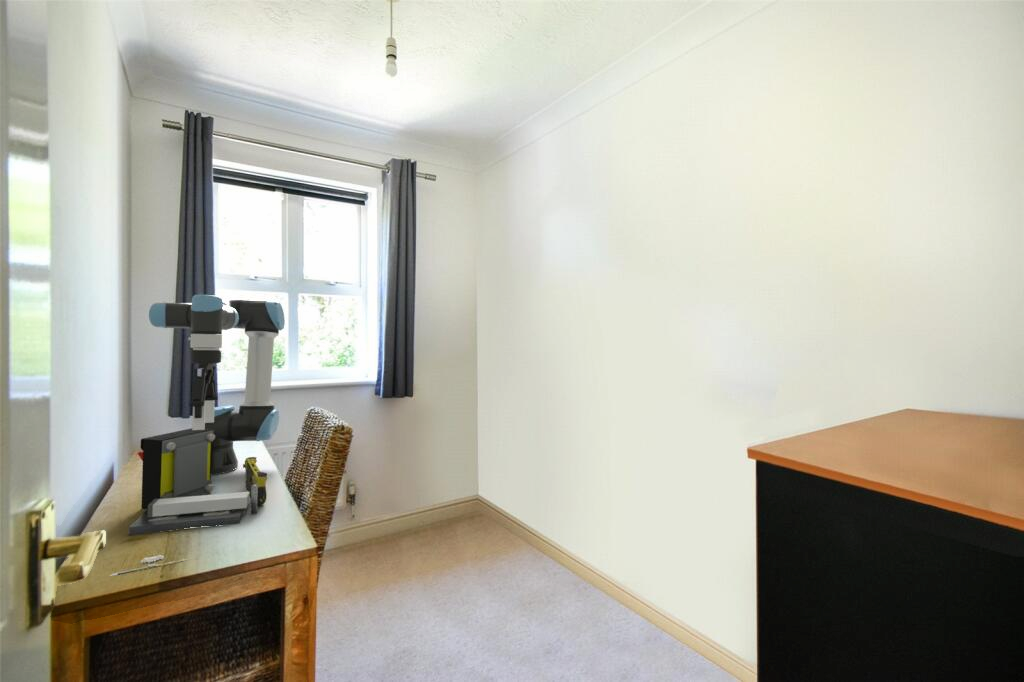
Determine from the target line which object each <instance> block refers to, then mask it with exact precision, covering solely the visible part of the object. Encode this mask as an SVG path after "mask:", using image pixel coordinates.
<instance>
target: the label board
mask: <svg viewBox="0 0 1024 682" xmlns="http://www.w3.org/2000/svg"><path fill="white" fill-rule="evenodd" d="M257 495H258V485H257V484H255V485H251V499H250V515H253V516H254V515H257V514H258V507H257ZM246 510H247V508H241V509H230V510H219V511H208V512H198V513H187V514H176V515H166V516H155V517H150V518H148V509H147V510H146V509H145V511H144V512H143V513H142V514H141V515H140V516H138V518H136V520H135V521H133V522H132V523H131V524H130V526H128V536H134V535H135V534H136V535H144V533H146V534H154V532H155V533H161V532H160V531H165V532H170V531H169V530H175V531H177V530H176V529H184V528H190V527H201V526H213V527H220V526H219V525H223V526H233V525H239V524H241V521H242V519H243V517H244V515H245V512H246ZM216 525H217V526H216ZM184 530H185V529H184ZM136 535H135V536H136Z"/></svg>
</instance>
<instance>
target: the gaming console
mask: <svg viewBox="0 0 1024 682" xmlns="http://www.w3.org/2000/svg"><path fill="white" fill-rule="evenodd" d="M257 462H258V461H257V456H249V457H246V458H245V460H244V463H243V464H242V468H243V469H244V471H245V472H244V473H245V474H244V475H245V477H244V478H245V479H244V480H245V481H244V483H245V489H246V492H250V496H249V500H251V485H255V484H257V485H258V495H257V508H258V507H259V508H260V507H261V506H263V505H264V504H265V503H266V502H267V487H266V484H267V481H268V473H267V472H264V471H261V470H260V469H259V467H258V465H257V464H256V463H257Z"/></svg>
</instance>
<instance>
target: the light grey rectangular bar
mask: <svg viewBox="0 0 1024 682" xmlns="http://www.w3.org/2000/svg"><path fill="white" fill-rule="evenodd" d="M249 503H250V492H247V491H242V492H241V491H238V492H229V493H217V494H216V493H214V494H204V495H201V496H190V497H177V498H165V499H154V500H153V501H152V502H151V503H150V504H149V505H148V518H150V517H155V516H166V515H176V514H187V513H198V512H208V511H219V510H230V509H241V508H246V509H248V506H249Z"/></svg>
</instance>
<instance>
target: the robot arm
mask: <svg viewBox="0 0 1024 682" xmlns="http://www.w3.org/2000/svg"><path fill="white" fill-rule="evenodd" d="M148 319H149V322H150V324H151V325H152V326H153V327H154V328H164V329H190V336H189V337H188V338H187V340H188V341H189V342H190V345H189V346H190V348H191V350H190V351H189V363H191V364H197V368H194V370H193V374H194V375H193V383H192V384H193V385H192V391H191V401H190V402H189V404H188V405H189V407H192V423H191V424H192V427H191V428H192V430H204V429H212V430H213V434H214V435H215V439H214V440H213V441H212V459H211V474H212V475H218V474H219V473H220V474H224V473H223V472H225V473H229V472H232V471H231V470H233V469H235V468H237V467H238V468H239V461H238V458H237V455H236V452H235V449H234V442H262V441H263V442H264V441H269V440H271V439H272V438H273V437H274V436H275V434H276V431H277V429H278V426H279V420H280V413H279V410H278V409H276V408H275V404H274V403H273V402H272V401H271V392H272V390H271V389H272V377H273V374H272V372H273V359H274V342H275V339H276V337H278V336H279V332H280V331H282V330H283V329H284V328H285V325H286V324H285V323H286V322H285V314H284V309H283V306H282V304H281V302H279V301H278V300H274V299H268V298H264V299H263V298H242V297H241V298H238V297H237V298H226V299H223V298H222V297H221V296H219V295H210V294H195V295H193V296H192V297H191V302H167V301H165V302H155V303H152V305H150V307H149V311H148ZM231 329H240V330H241V329H243V330H244V334H245V335H246V336H247V337H248V348H247V361H246V376H245V389H244V400H243V402H242V403H240V404H239V406H238V407H239V409H236V408H235V406H234V405H222V406H215V401H218V399H219V396H217V395H218V394H217V385H216V384H217V382H216V368H217V367H216V366H214V365H213V364H221V362H222V351H221V349H222V347H223V345H222V344H223V342H222V341H223V334H222V333H223V331H227V330H231ZM238 468H237V469H238ZM235 470H236V469H235ZM228 471H229V472H228ZM233 471H234V470H233Z"/></svg>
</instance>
